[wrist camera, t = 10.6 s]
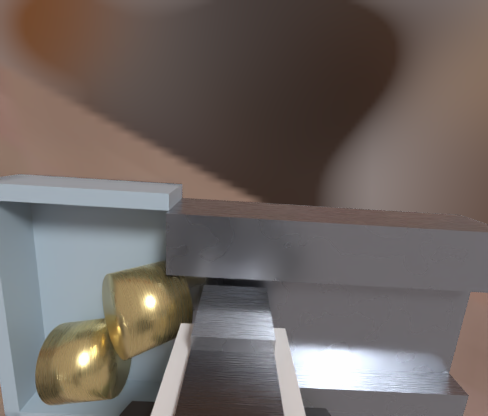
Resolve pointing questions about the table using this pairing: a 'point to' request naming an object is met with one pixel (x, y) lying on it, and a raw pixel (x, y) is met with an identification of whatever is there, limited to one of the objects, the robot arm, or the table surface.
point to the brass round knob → (144, 307)
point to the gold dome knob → (79, 364)
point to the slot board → (345, 294)
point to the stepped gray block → (231, 356)
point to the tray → (73, 275)
